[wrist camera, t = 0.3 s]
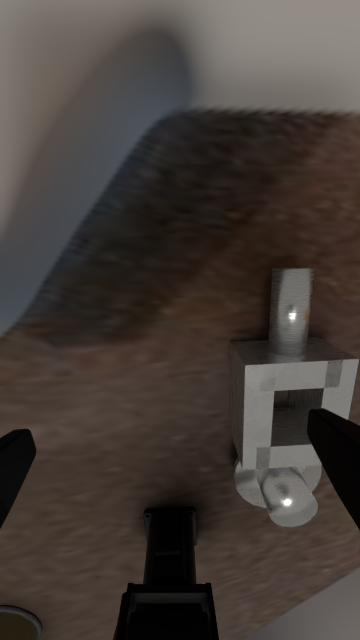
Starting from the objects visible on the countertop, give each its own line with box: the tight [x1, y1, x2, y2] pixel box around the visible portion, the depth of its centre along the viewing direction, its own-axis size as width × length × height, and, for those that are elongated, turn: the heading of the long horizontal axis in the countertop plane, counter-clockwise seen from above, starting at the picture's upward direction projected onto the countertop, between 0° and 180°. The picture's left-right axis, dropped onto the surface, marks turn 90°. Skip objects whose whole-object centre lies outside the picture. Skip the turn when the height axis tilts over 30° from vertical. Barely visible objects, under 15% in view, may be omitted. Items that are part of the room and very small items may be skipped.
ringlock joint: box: [230, 267, 359, 527], centre depth 20 cm, size 26×9×6 cm, turn 3°
